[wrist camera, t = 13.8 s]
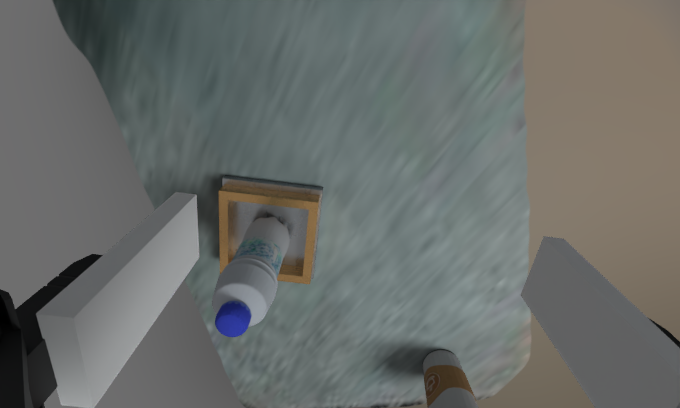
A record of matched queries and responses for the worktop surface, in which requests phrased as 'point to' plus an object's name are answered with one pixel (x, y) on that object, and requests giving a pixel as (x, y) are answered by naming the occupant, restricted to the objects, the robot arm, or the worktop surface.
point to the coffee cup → (446, 382)
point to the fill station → (269, 201)
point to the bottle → (250, 277)
